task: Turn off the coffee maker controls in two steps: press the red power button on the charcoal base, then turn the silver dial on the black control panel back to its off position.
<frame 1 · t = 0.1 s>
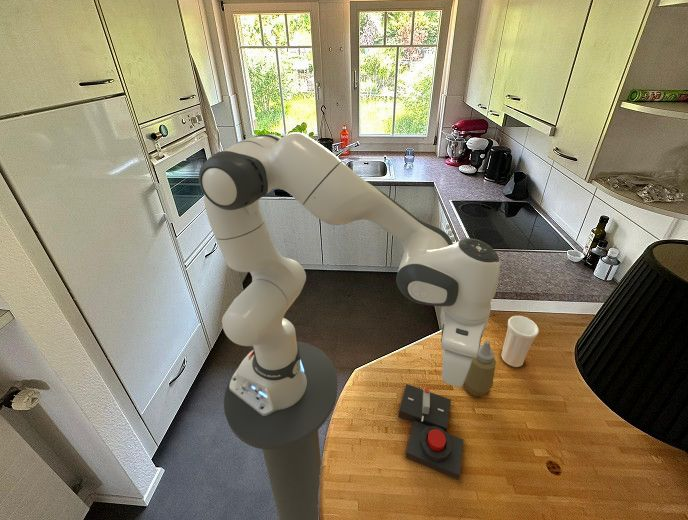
hand: (453, 361, 70), 24 cm above the countertop, tool pointing down, fingers open, 8 cm apart
power base: (434, 450, 77), on the countertop
cup: (511, 359, 100), on the countertop
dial: (426, 400, 83), point 5 cm above the countertop, hinge at 100.0°
power button: (436, 440, 75), point 4 cm above the countertop, slide at 0.1 cm
squeeze bottle: (474, 387, 91), on the countertop
control panel: (424, 411, 85), on the countertop
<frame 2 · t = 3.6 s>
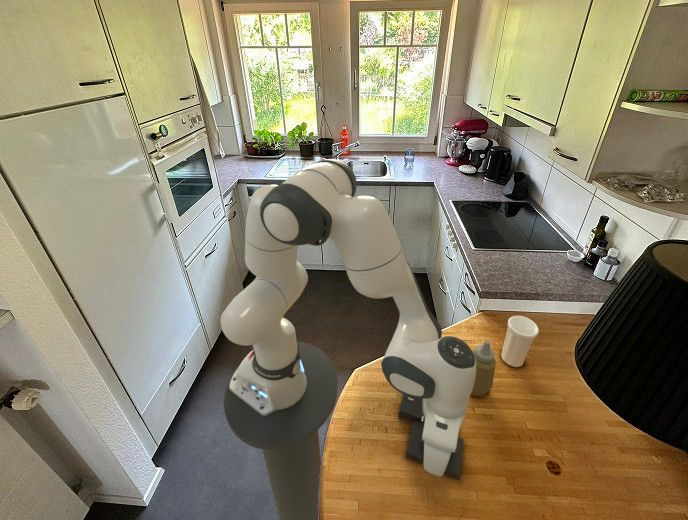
hand: (437, 439, 74), 5 cm above the countertop, tool pointing down, fingers closed, pressing on power button
power button: (436, 441, 75), point 4 cm above the countertop, slide at -0.2 cm, touching gripper
everything else where it was.
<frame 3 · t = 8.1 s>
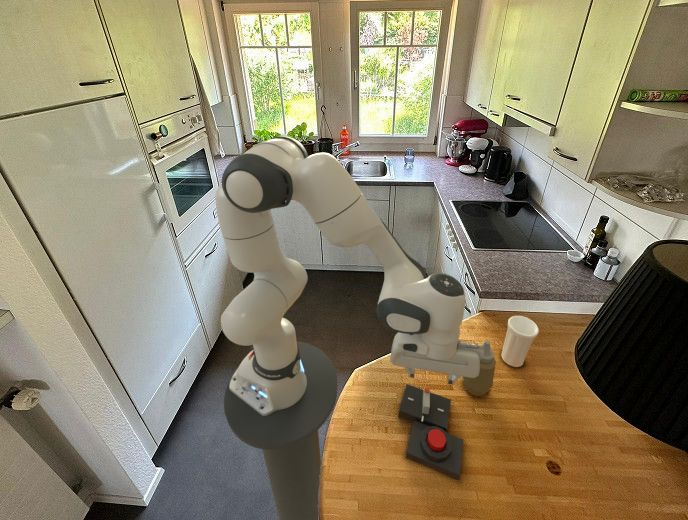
hand: (430, 378, 79), 13 cm above the countertop, tool pointing down, fingers open, 8 cm apart
power button: (436, 440, 75), point 4 cm above the countertop, slide at 0.1 cm
everything else where it was.
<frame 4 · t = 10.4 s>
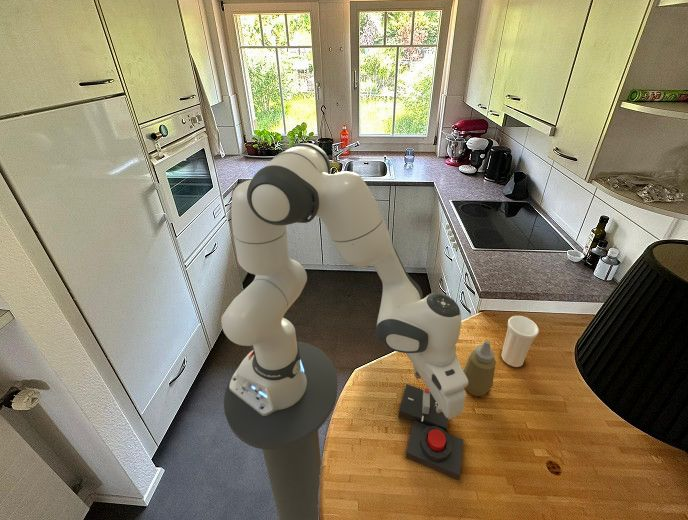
hand: (427, 392, 81), 8 cm above the countertop, tool pointing down, fingers open, 8 cm apart
nothing on the countertop moved.
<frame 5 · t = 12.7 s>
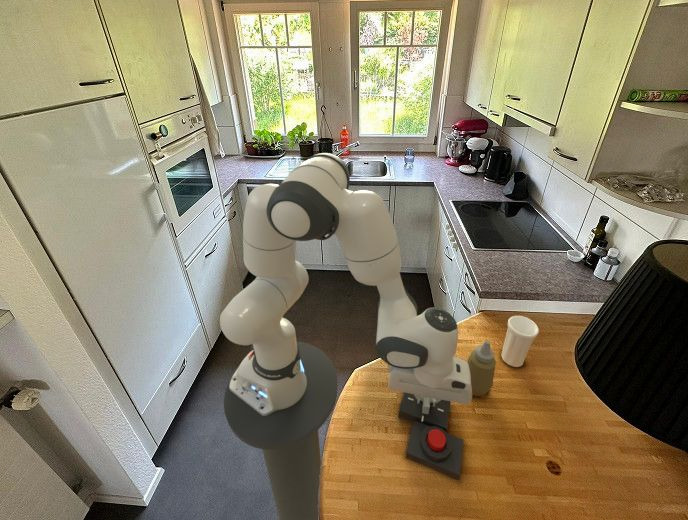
hand: (425, 402, 83), 4 cm above the countertop, tool pointing down, fingers closed on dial
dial: (426, 400, 83), point 5 cm above the countertop, hinge at 100.0°, touching gripper
everything else where it was.
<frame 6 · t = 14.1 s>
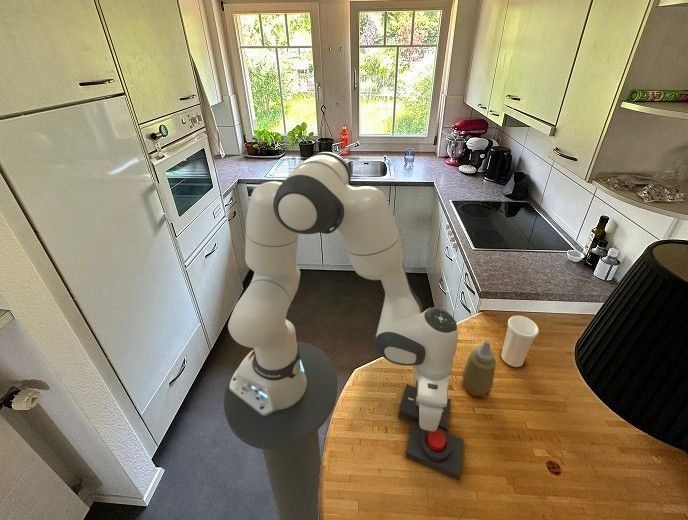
hand: (425, 402, 83), 4 cm above the countertop, tool pointing down, fingers closed on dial, 2 cm apart
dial: (426, 400, 83), point 5 cm above the countertop, hinge at 10.4°, touching gripper
everything else where it was.
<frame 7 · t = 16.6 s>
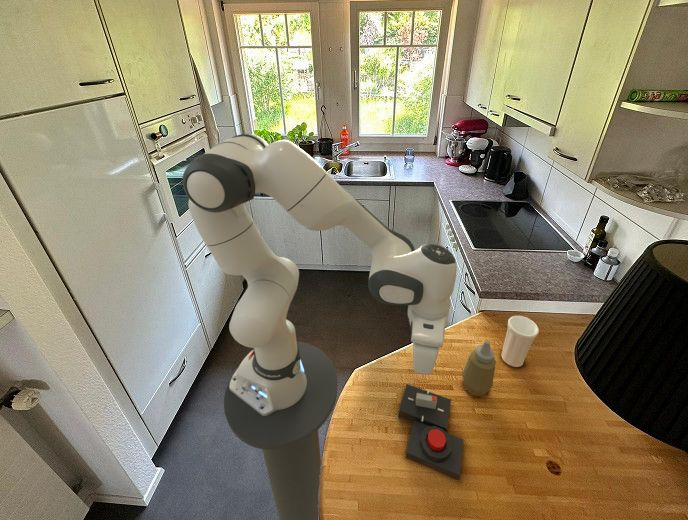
hand: (420, 352, 79), 19 cm above the countertop, tool pointing down, fingers open, 8 cm apart
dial: (426, 400, 83), point 5 cm above the countertop, hinge at 10.4°
everything else where it was.
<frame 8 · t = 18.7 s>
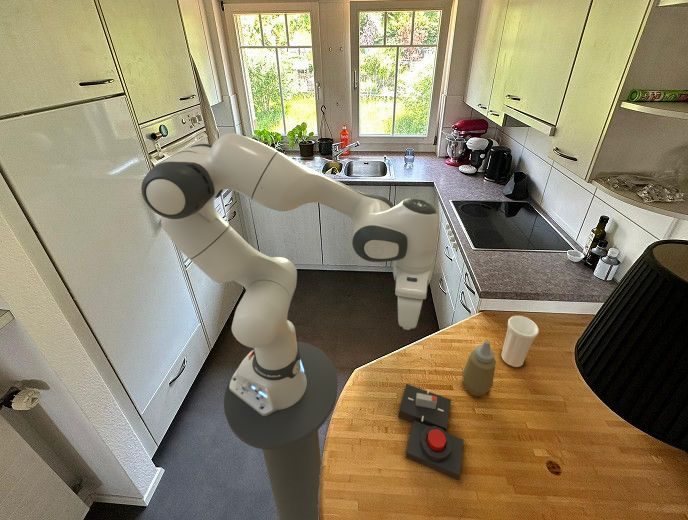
hand: (407, 313, 79), 27 cm above the countertop, tool pointing down, fingers open, 8 cm apart
nothing on the countertop moved.
at the end: power button pushed in 1.1 cm at the most during the clip, back to where it started at the end; power button slide at 0.1 cm; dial at +10° (first picture: +100°) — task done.
